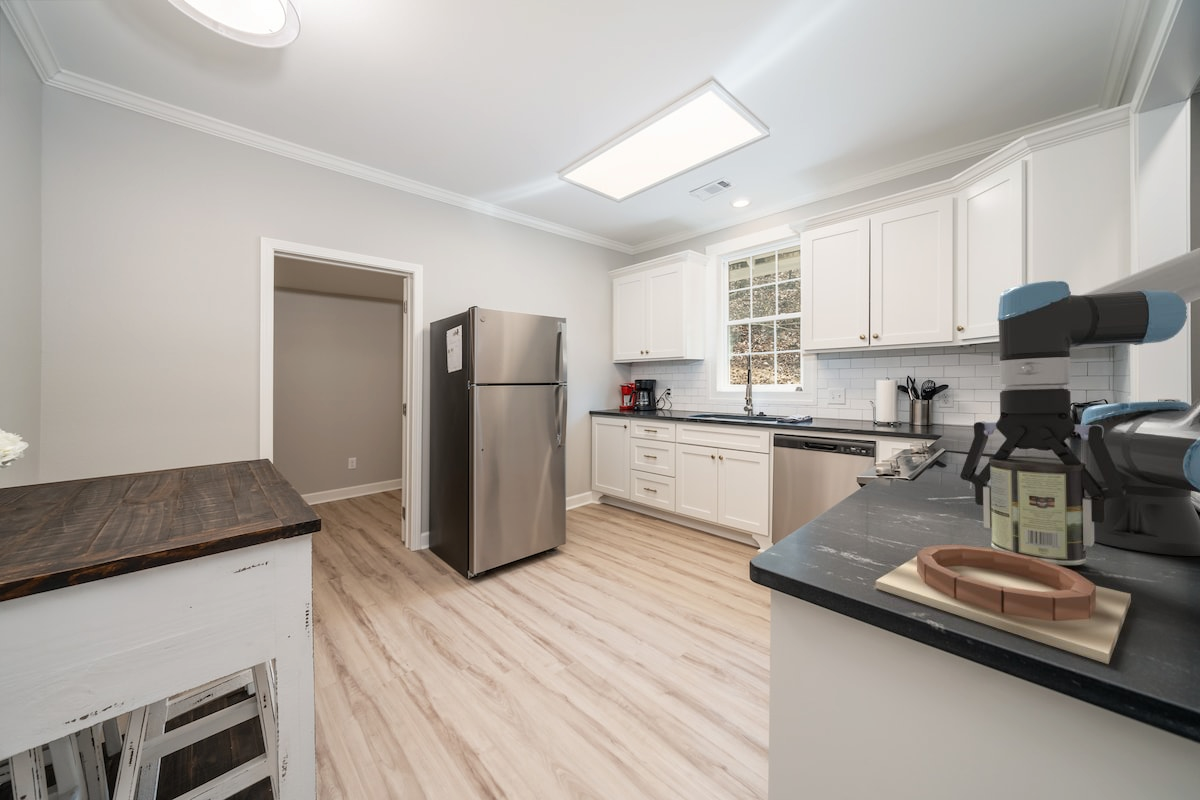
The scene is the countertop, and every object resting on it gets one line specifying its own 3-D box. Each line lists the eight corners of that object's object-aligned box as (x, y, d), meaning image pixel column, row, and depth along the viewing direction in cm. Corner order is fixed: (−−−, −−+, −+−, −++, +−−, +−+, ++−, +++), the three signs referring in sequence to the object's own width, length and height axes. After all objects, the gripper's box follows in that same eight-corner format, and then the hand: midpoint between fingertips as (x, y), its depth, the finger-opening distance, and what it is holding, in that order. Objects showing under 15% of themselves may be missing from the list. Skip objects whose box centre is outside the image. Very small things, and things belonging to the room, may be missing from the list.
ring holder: (931, 553, 69) (931, 531, 69) (1130, 602, 52) (1130, 573, 52) (875, 588, 57) (875, 561, 57) (1108, 664, 41) (1108, 627, 41)
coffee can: (1048, 542, 70) (1047, 455, 69) (1109, 568, 59) (1108, 466, 59) (974, 539, 72) (973, 455, 71) (1021, 564, 62) (1020, 465, 61)
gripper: (933, 390, 72) (936, 522, 73) (1153, 385, 54) (1155, 563, 54) (949, 389, 77) (951, 514, 77) (1157, 385, 58) (1159, 549, 58)
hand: (1035, 534), depth 65 cm, fingers closed on coffee can, 10 cm apart
